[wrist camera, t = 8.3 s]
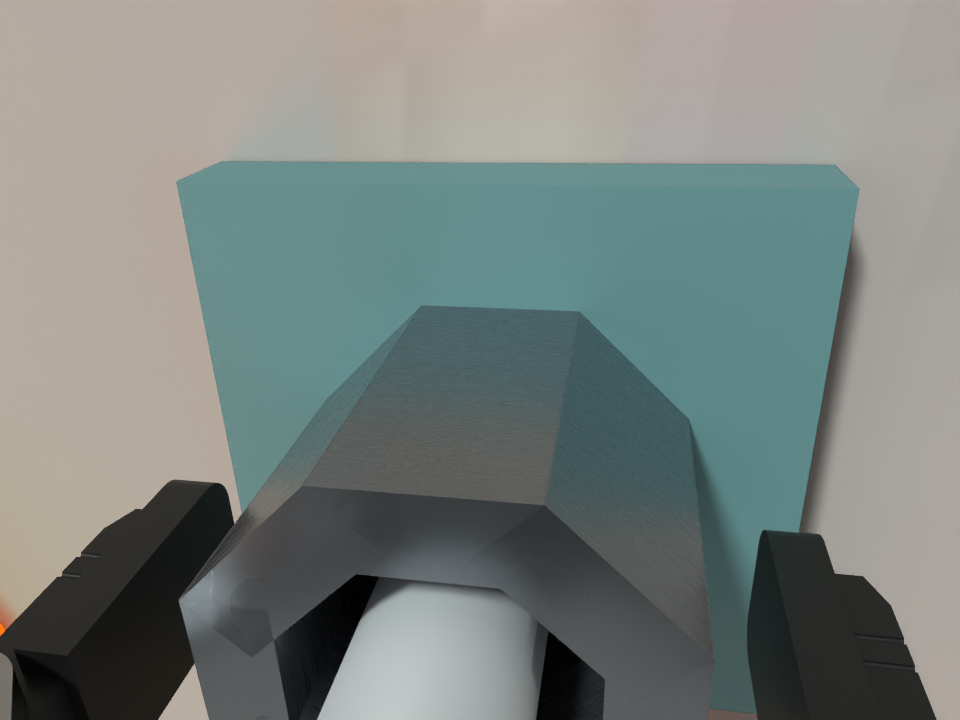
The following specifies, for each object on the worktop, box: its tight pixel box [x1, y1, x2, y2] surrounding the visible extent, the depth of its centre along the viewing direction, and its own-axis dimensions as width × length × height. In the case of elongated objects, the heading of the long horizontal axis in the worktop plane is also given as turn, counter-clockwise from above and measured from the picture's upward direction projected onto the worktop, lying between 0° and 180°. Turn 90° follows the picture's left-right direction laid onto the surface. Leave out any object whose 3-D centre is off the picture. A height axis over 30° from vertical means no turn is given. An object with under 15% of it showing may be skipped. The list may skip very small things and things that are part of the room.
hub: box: [179, 305, 715, 720], centre depth 11 cm, size 6×6×5 cm
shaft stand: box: [176, 161, 859, 720], centre depth 11 cm, size 10×10×8 cm
